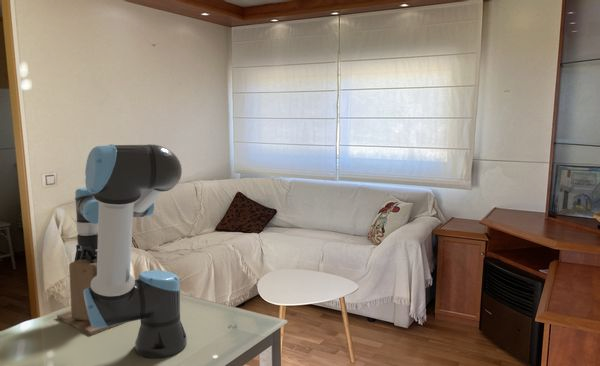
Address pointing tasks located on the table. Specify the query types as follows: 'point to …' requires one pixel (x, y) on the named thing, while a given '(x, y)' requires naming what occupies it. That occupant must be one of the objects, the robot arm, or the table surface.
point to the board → (81, 323)
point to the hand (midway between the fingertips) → (92, 293)
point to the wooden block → (80, 286)
